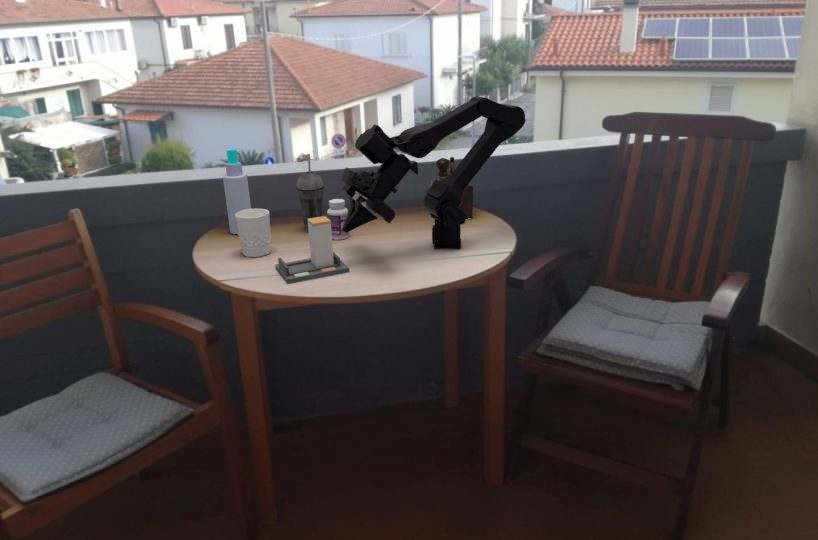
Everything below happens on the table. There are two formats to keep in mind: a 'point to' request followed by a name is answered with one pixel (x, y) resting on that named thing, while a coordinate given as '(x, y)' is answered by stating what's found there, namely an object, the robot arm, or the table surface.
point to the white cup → (254, 232)
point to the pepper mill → (468, 192)
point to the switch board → (309, 269)
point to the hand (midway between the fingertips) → (344, 231)
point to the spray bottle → (235, 189)
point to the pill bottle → (337, 218)
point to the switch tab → (320, 241)
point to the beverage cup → (310, 195)
